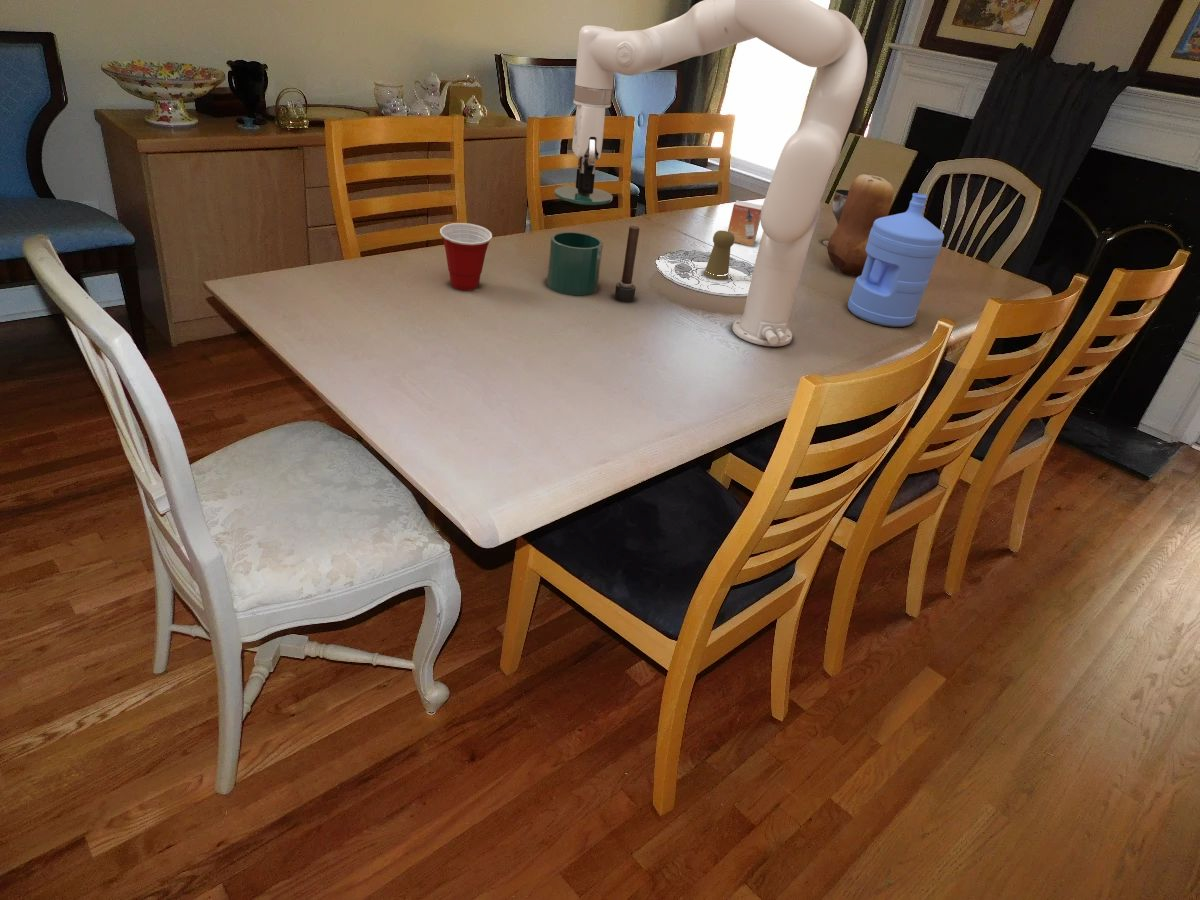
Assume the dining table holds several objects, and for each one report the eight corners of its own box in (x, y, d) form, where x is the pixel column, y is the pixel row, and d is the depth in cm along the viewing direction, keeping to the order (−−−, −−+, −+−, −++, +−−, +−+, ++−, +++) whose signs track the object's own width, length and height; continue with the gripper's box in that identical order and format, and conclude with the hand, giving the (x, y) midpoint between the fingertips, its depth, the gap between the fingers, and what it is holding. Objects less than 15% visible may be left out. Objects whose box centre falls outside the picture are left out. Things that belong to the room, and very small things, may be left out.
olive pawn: (727, 273, 194) (736, 230, 188) (728, 281, 189) (738, 237, 183) (703, 269, 194) (712, 226, 188) (704, 277, 189) (713, 233, 183)
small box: (725, 241, 218) (733, 203, 212) (728, 236, 222) (735, 199, 217) (752, 246, 216) (761, 209, 210) (755, 241, 221) (764, 205, 215)
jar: (600, 296, 170) (606, 250, 164) (549, 293, 168) (553, 246, 162) (593, 278, 179) (598, 233, 174) (544, 275, 177) (548, 230, 171)
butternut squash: (881, 276, 207) (913, 182, 194) (854, 283, 199) (885, 185, 186) (838, 260, 215) (866, 168, 202) (811, 266, 207) (837, 171, 194)
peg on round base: (635, 302, 169) (646, 231, 161) (616, 301, 168) (626, 229, 160) (632, 295, 173) (642, 225, 164) (612, 294, 172) (622, 223, 163)
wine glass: (815, 240, 230) (829, 189, 222) (836, 239, 233) (850, 189, 225) (832, 249, 224) (847, 197, 216) (853, 248, 227) (869, 197, 219)
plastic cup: (445, 296, 159) (445, 239, 153) (434, 277, 168) (434, 222, 161) (495, 294, 163) (498, 239, 157) (483, 276, 172) (485, 222, 165)
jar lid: (616, 209, 159) (620, 178, 156) (557, 205, 157) (559, 174, 153) (607, 193, 169) (610, 164, 166) (551, 189, 167) (553, 160, 164)
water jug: (899, 305, 189) (939, 190, 174) (923, 331, 176) (970, 209, 161) (838, 299, 187) (873, 182, 173) (858, 324, 174) (899, 200, 159)
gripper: (569, 88, 158) (562, 180, 168) (579, 101, 145) (571, 200, 155) (604, 92, 160) (595, 182, 170) (618, 105, 146) (607, 202, 156)
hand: (584, 190), depth 162 cm, fingers closed on jar lid, 2 cm apart
